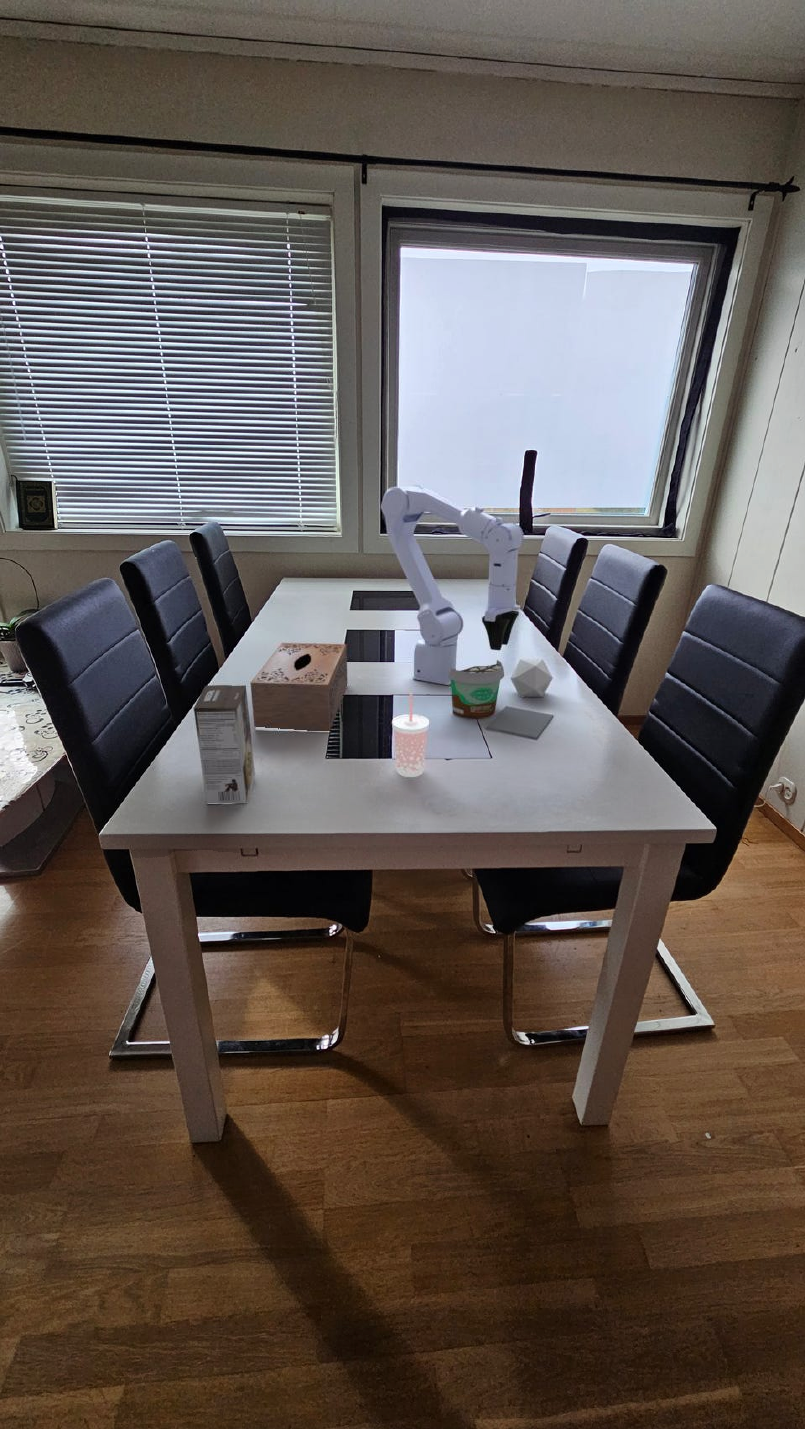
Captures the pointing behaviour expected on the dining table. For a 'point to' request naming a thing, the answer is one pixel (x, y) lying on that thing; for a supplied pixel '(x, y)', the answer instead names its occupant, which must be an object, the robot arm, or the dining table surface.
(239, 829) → the dining table surface
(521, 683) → the die
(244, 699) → the coffee box
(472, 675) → the food container
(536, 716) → the mat
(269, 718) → the tissue box cover
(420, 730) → the beverage cup
